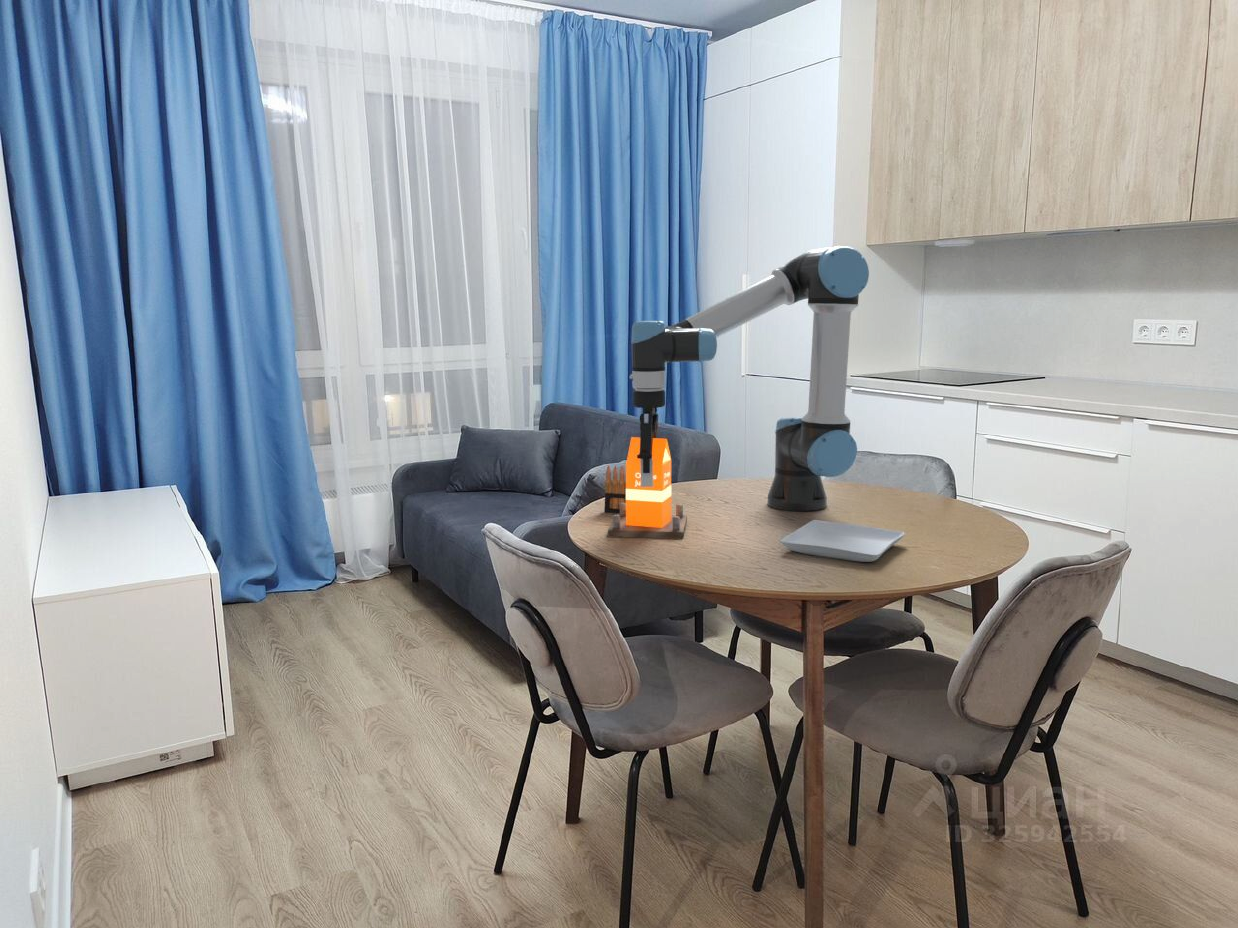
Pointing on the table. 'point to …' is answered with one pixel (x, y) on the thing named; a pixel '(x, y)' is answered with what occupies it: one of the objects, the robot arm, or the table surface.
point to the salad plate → (841, 540)
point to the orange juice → (648, 501)
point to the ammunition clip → (614, 491)
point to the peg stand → (668, 531)
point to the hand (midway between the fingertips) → (649, 480)
